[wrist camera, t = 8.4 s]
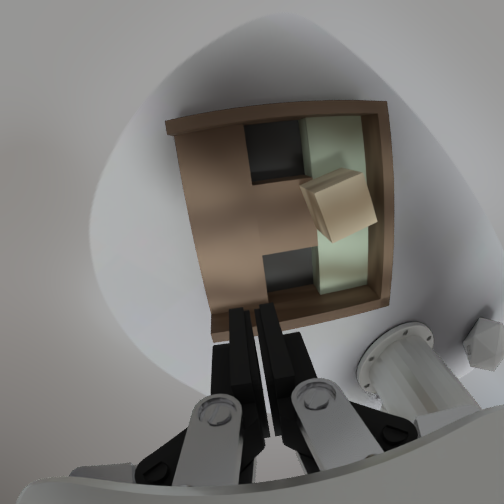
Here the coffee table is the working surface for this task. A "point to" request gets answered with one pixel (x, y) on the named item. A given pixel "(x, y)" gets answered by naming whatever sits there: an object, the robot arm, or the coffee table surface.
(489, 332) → the die
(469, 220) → the coffee table surface
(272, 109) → the box
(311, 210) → the maple block
